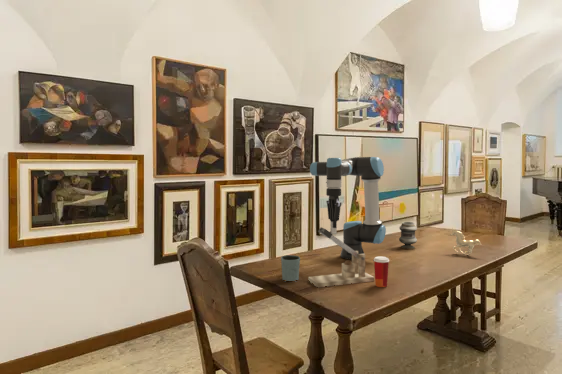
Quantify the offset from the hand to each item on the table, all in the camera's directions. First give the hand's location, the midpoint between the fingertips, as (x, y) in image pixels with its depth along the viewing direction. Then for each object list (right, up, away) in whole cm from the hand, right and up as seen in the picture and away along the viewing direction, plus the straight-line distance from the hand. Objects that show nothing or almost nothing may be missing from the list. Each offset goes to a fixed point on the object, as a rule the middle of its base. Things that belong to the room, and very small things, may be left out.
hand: (333, 233), depth 205 cm
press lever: (+3, -7, +2) cm, 8 cm away
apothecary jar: (+64, -19, +80) cm, 104 cm away
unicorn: (+93, -21, +56) cm, 111 cm away
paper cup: (+23, -25, -6) cm, 35 cm away
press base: (+5, -25, +3) cm, 25 cm away
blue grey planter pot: (-22, -25, +6) cm, 34 cm away
